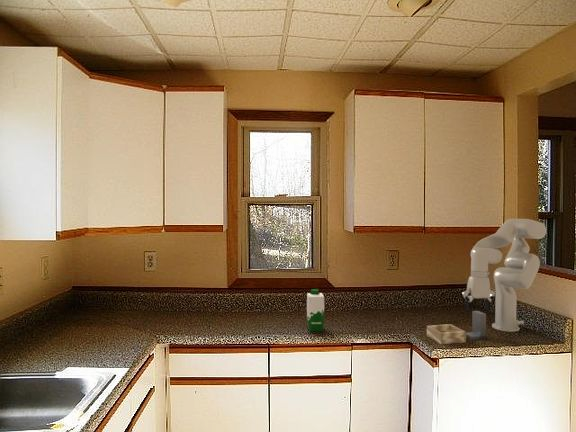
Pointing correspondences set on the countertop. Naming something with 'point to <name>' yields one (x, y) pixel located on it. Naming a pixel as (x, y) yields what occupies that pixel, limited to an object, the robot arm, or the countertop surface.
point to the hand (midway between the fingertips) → (478, 309)
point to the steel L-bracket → (477, 326)
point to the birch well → (446, 334)
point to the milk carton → (315, 310)
